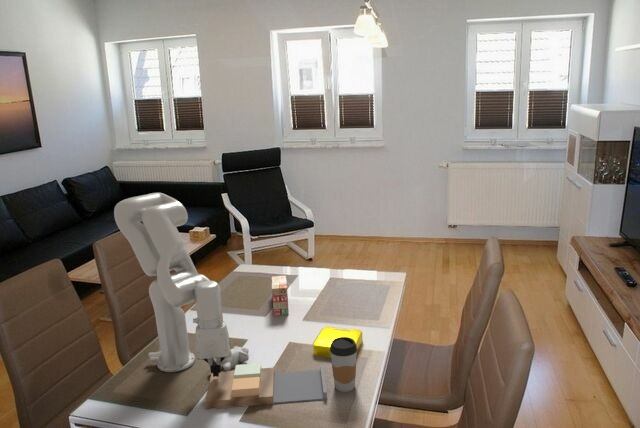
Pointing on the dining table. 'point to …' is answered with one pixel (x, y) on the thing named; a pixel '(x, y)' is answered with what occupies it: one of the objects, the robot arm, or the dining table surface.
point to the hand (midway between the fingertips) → (216, 374)
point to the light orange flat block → (246, 387)
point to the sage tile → (247, 371)
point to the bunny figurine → (235, 357)
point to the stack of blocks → (279, 295)
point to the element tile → (330, 333)
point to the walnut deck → (222, 397)
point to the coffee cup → (343, 363)
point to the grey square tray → (299, 386)
